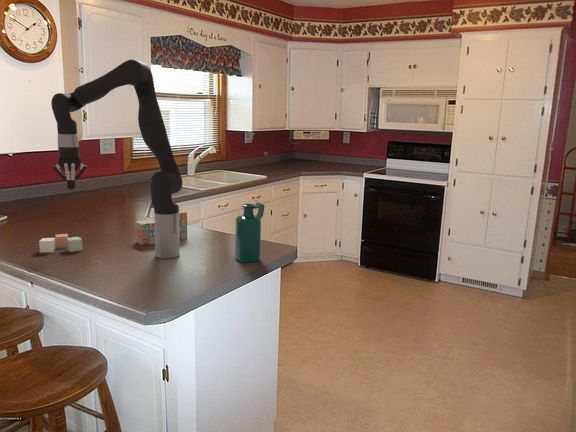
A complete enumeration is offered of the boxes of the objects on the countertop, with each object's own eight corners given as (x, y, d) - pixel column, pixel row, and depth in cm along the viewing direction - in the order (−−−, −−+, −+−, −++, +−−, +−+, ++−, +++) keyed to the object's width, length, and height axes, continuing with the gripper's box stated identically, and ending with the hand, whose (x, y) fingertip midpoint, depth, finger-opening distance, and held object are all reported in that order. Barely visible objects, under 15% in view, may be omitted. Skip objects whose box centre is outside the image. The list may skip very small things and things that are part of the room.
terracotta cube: (69, 247, 189) (68, 236, 188) (56, 248, 187) (55, 237, 186) (68, 244, 193) (67, 233, 192) (56, 245, 191) (55, 234, 190)
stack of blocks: (142, 246, 198) (141, 217, 195) (135, 242, 202) (134, 214, 200) (187, 238, 212) (187, 211, 209) (180, 235, 216) (180, 209, 214)
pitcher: (240, 263, 178) (241, 206, 174) (233, 257, 186) (234, 202, 181) (264, 261, 182) (266, 205, 178) (257, 255, 190) (258, 201, 185)
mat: (81, 253, 185) (81, 251, 185) (38, 255, 180) (38, 253, 180) (83, 245, 195) (83, 243, 195) (42, 247, 190) (42, 245, 190)
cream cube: (52, 252, 182) (51, 240, 181) (39, 252, 181) (39, 241, 180) (55, 249, 186) (55, 237, 185) (43, 249, 185) (42, 238, 184)
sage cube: (82, 250, 186) (81, 239, 185) (70, 251, 183) (69, 240, 182) (79, 247, 189) (78, 236, 188) (67, 249, 186) (66, 238, 185)
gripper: (48, 146, 181) (52, 191, 184) (86, 146, 185) (89, 190, 189) (50, 145, 187) (54, 188, 191) (87, 145, 192) (89, 187, 195)
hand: (71, 189), depth 190 cm, fingers closed
